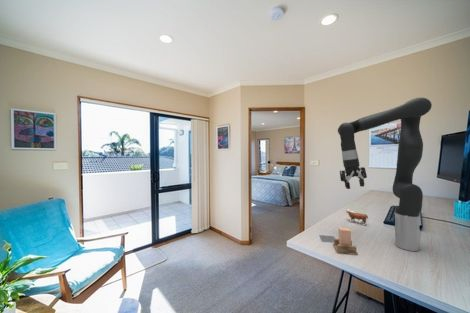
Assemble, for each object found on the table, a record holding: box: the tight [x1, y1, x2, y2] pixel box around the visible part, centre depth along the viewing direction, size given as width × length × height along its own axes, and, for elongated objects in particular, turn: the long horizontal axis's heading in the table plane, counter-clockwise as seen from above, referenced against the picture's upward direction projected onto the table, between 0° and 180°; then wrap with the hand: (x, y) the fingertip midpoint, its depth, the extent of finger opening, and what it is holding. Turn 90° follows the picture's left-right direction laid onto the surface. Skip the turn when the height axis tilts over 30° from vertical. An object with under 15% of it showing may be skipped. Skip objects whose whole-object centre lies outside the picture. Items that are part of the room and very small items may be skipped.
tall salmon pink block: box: [338, 226, 352, 245], centre depth 94 cm, size 4×4×10 cm
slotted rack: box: [332, 238, 359, 256], centre depth 95 cm, size 9×8×4 cm
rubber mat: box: [319, 234, 336, 244], centre depth 106 cm, size 8×8×1 cm
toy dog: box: [345, 208, 369, 226], centre depth 128 cm, size 4×13×8 cm, turn 38°
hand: (355, 187), depth 103 cm, fingers open, 8 cm apart
